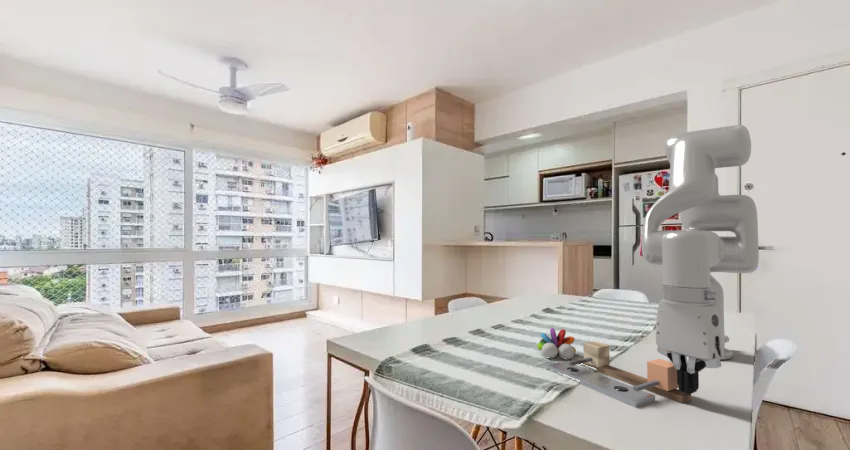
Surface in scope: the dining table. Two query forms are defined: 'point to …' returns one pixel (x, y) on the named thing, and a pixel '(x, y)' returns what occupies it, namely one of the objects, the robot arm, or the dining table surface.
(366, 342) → the dining table surface
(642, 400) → the bolt-hole strip
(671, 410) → the dining table surface
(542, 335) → the rainbow fan toy
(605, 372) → the rail
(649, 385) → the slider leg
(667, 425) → the dining table surface
